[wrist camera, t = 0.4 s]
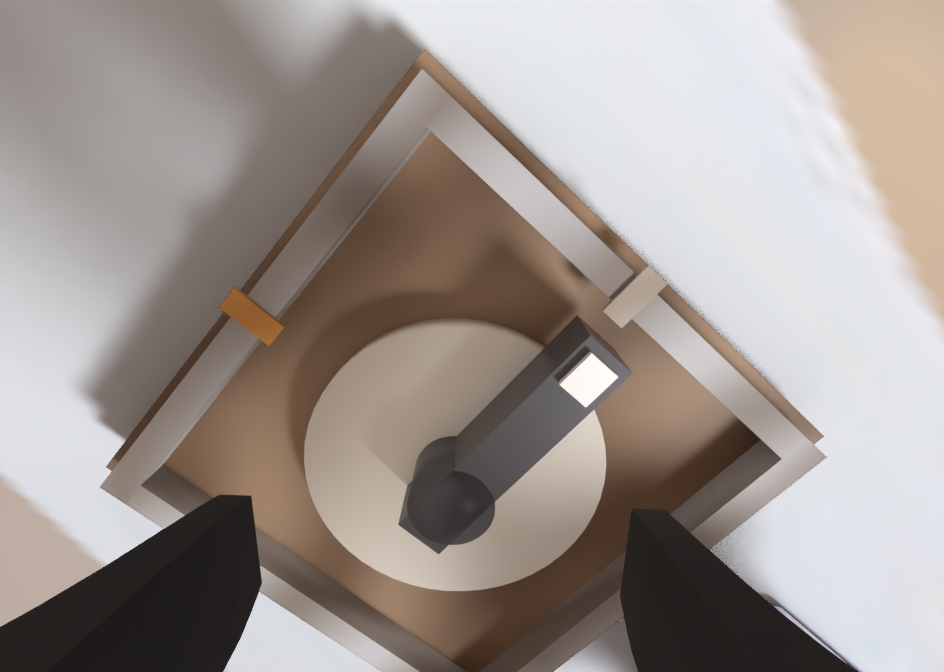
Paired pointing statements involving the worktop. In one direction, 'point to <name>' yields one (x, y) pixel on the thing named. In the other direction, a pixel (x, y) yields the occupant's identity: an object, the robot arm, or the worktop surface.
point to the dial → (462, 450)
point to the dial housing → (456, 296)
